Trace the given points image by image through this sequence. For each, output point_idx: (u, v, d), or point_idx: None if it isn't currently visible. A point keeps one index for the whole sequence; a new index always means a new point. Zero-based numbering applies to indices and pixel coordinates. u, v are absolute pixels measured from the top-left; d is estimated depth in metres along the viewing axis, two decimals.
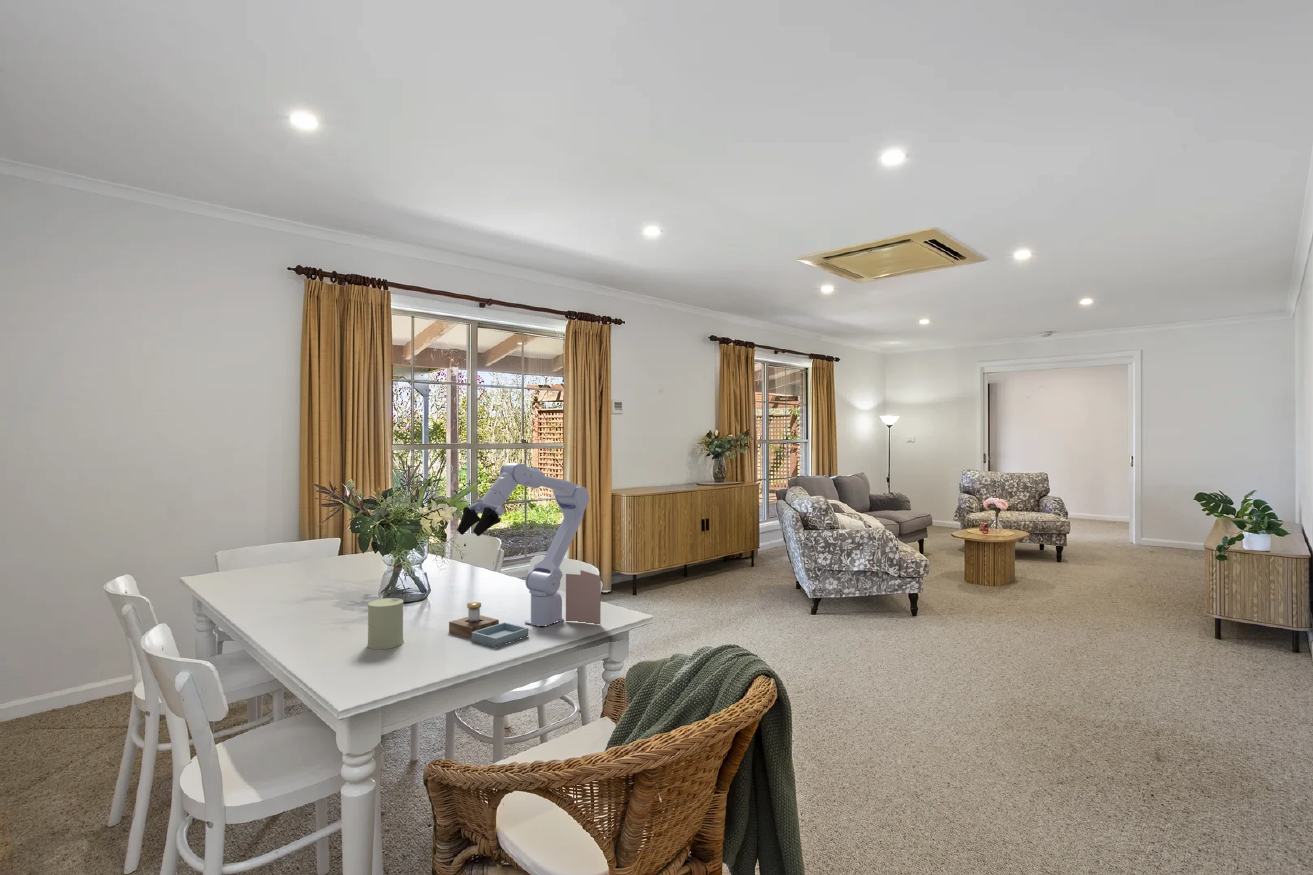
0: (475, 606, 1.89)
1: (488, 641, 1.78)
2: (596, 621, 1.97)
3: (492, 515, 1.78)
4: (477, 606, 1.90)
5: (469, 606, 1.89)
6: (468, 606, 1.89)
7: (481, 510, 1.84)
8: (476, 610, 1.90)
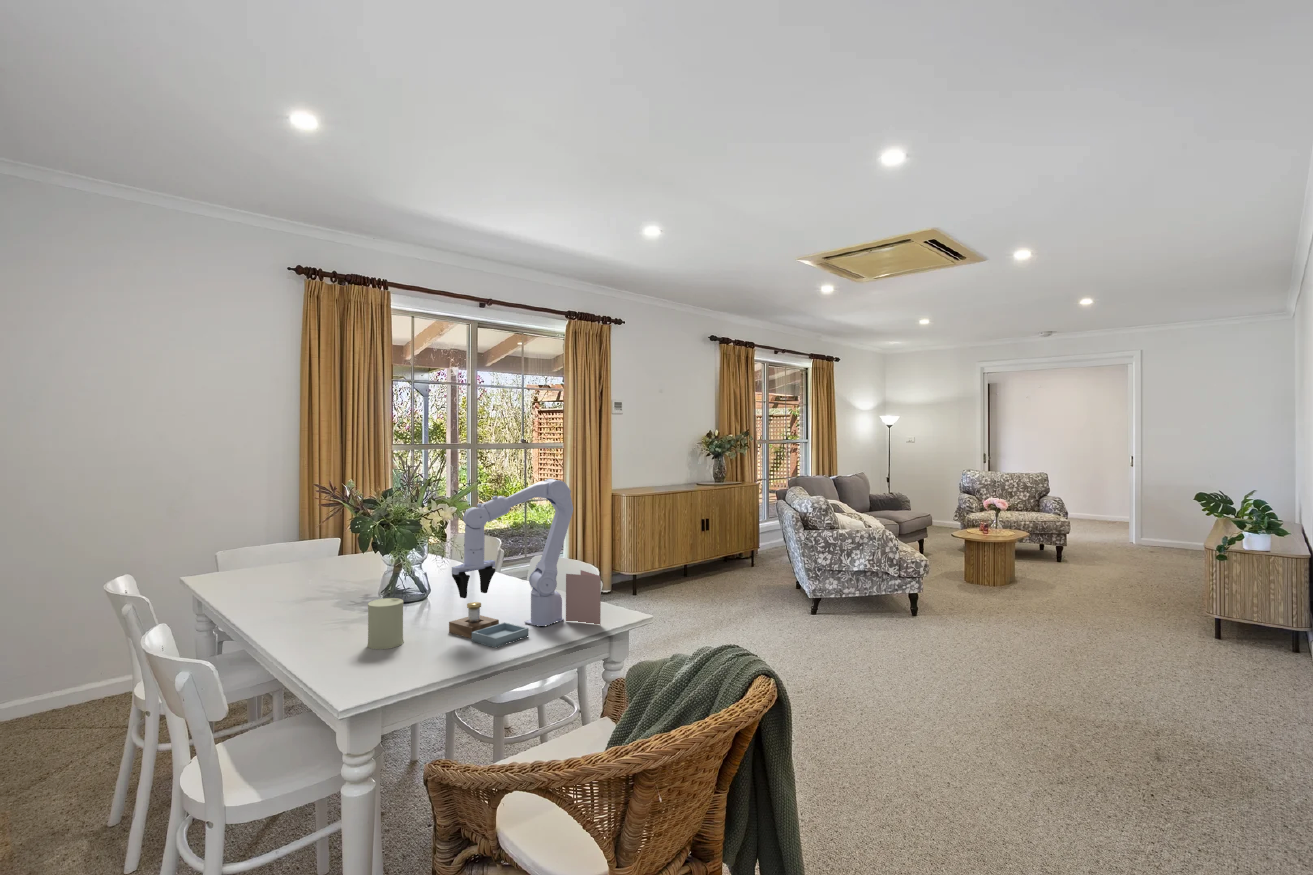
0: (475, 606, 1.89)
1: (488, 641, 1.78)
2: (596, 621, 1.97)
3: None
4: (477, 606, 1.90)
5: (469, 606, 1.89)
6: (468, 606, 1.89)
7: None
8: (476, 610, 1.90)
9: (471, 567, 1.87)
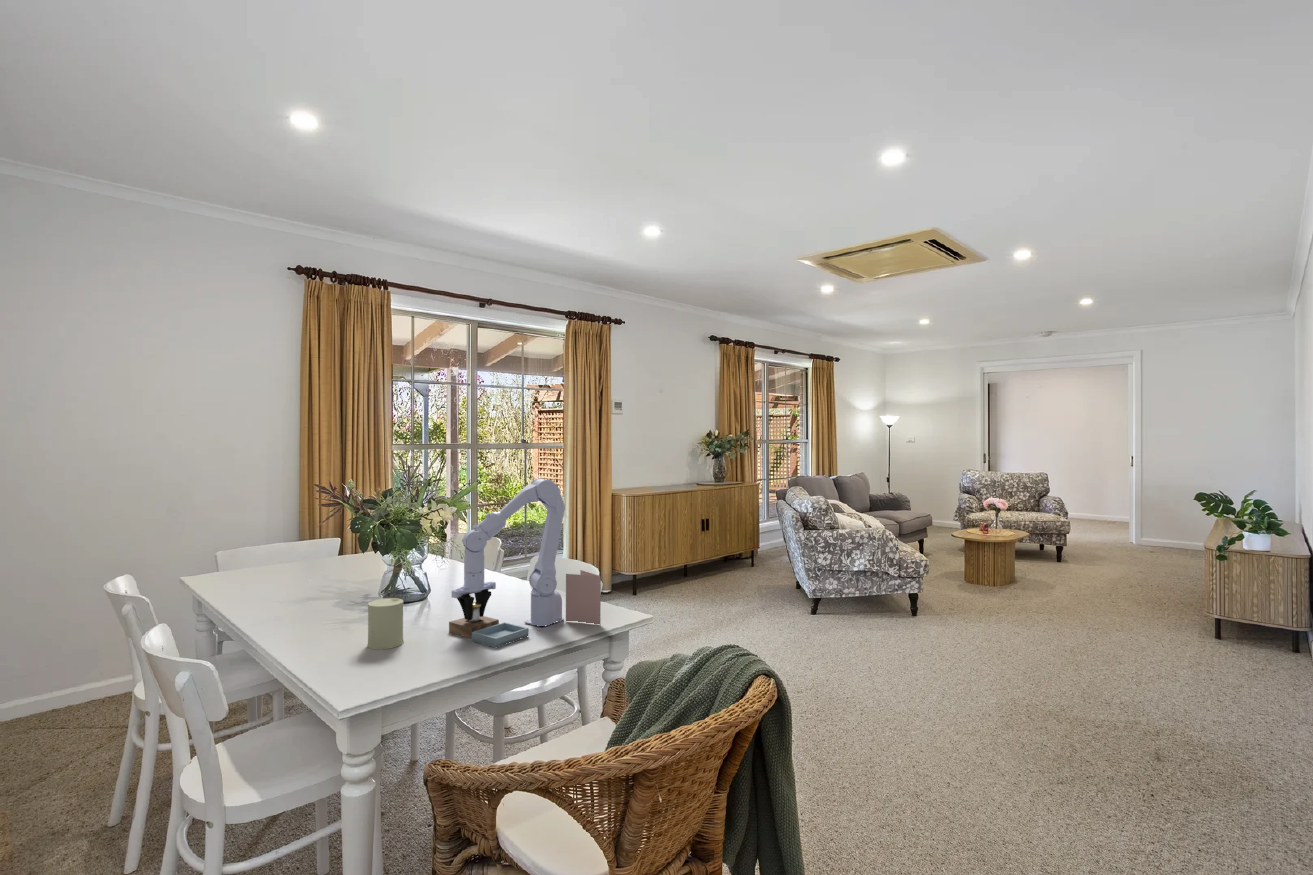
0: (475, 606, 1.89)
1: (488, 641, 1.78)
2: (596, 621, 1.97)
3: None
4: (477, 606, 1.90)
5: None
6: None
7: None
8: (476, 610, 1.90)
9: (471, 590, 1.87)
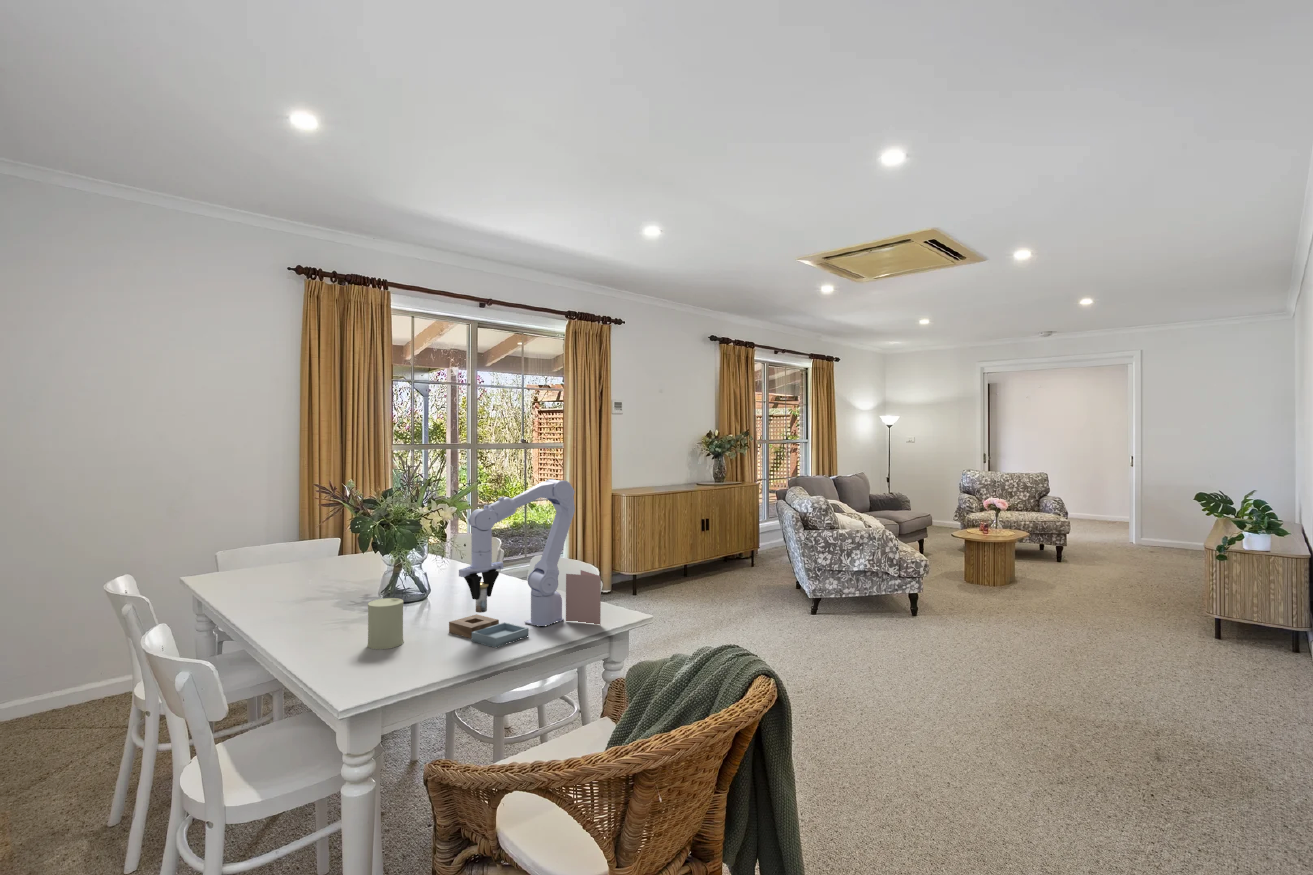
0: (482, 586, 1.87)
1: (488, 641, 1.78)
2: (596, 621, 1.97)
3: None
4: (484, 586, 1.87)
5: None
6: None
7: None
8: (483, 590, 1.88)
9: (478, 569, 1.85)
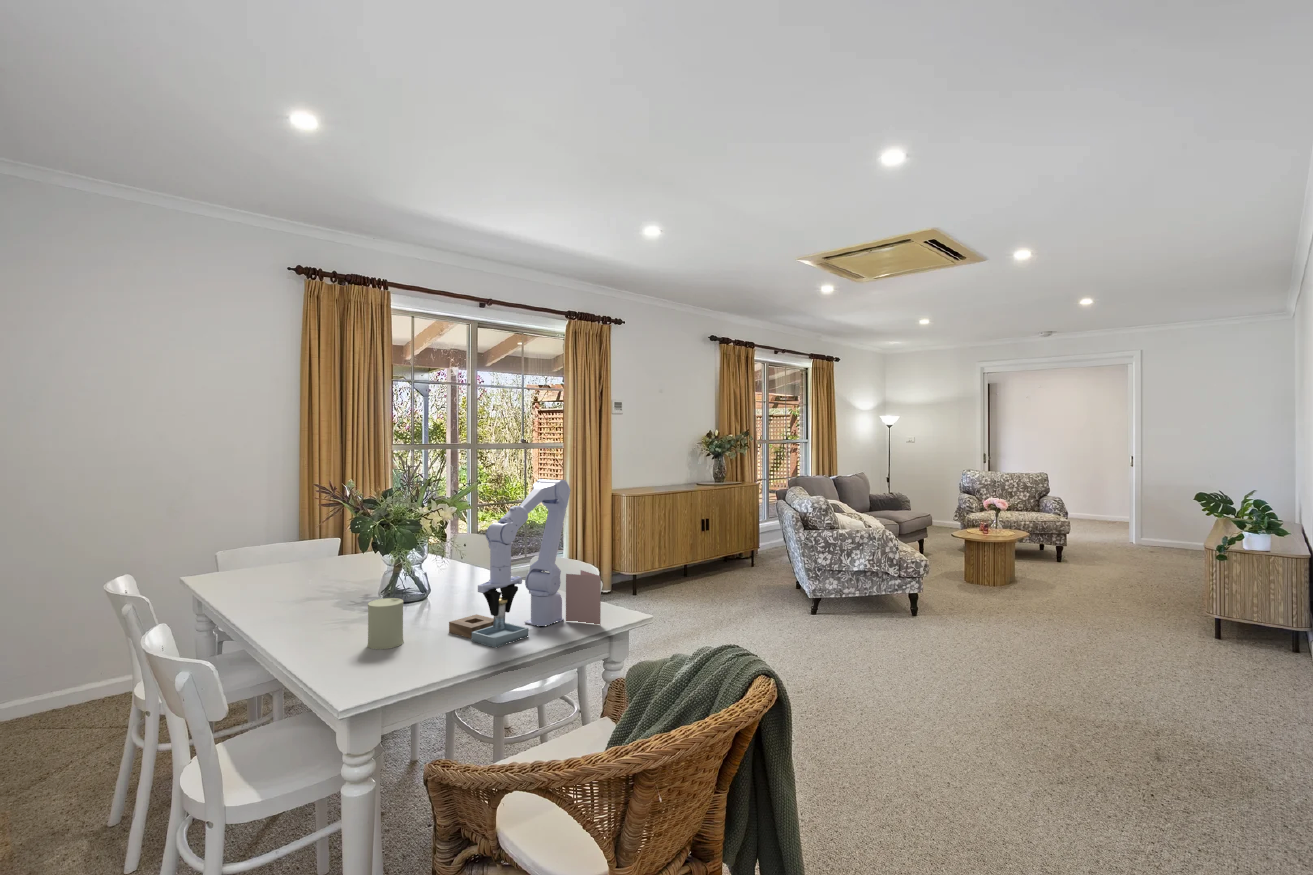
0: (501, 602, 1.82)
1: (488, 641, 1.78)
2: (596, 621, 1.97)
3: None
4: (503, 602, 1.82)
5: None
6: None
7: None
8: (502, 606, 1.82)
9: (498, 585, 1.80)
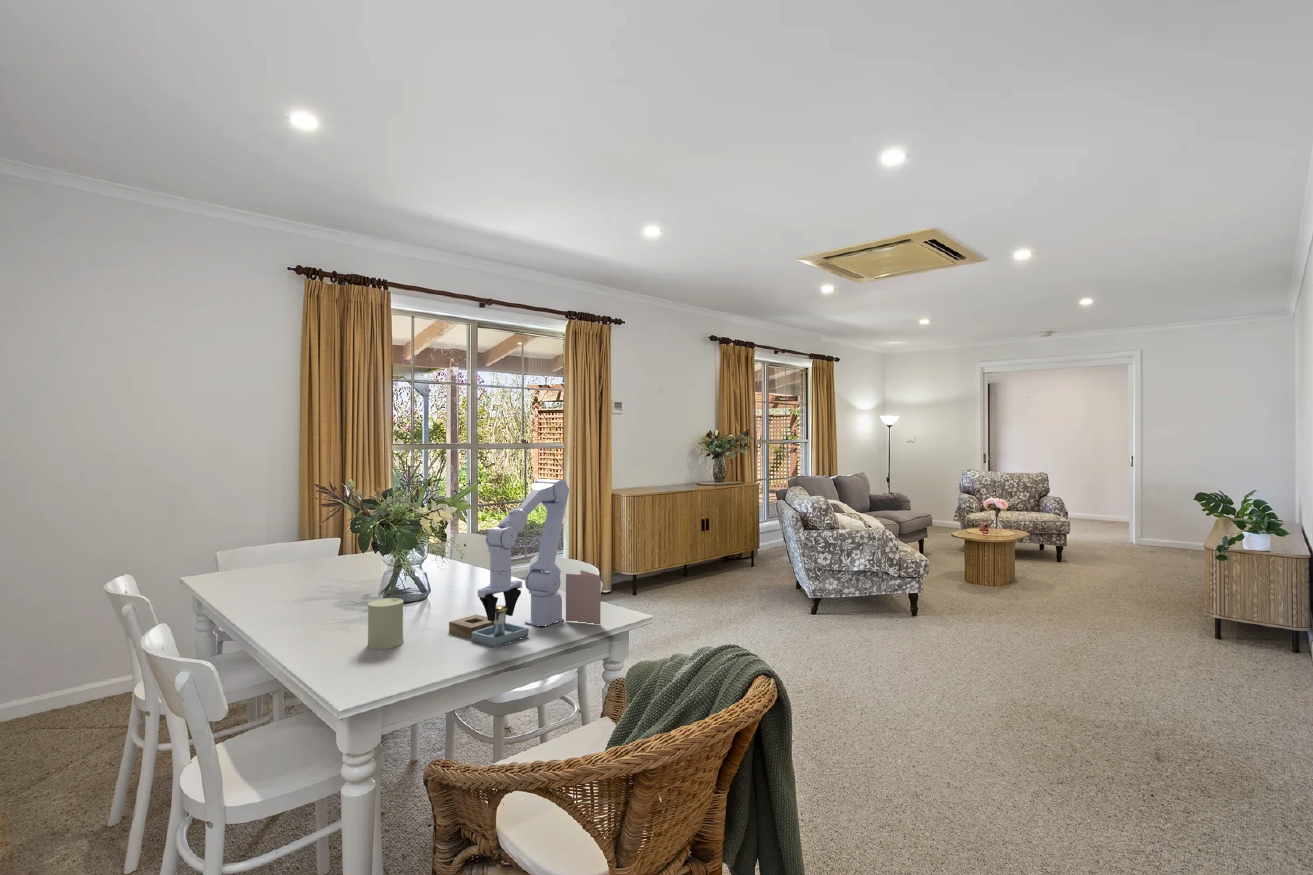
0: (501, 610, 1.82)
1: (488, 641, 1.78)
2: (596, 621, 1.97)
3: None
4: (503, 610, 1.82)
5: (495, 610, 1.82)
6: None
7: None
8: (502, 614, 1.83)
9: (498, 589, 1.80)
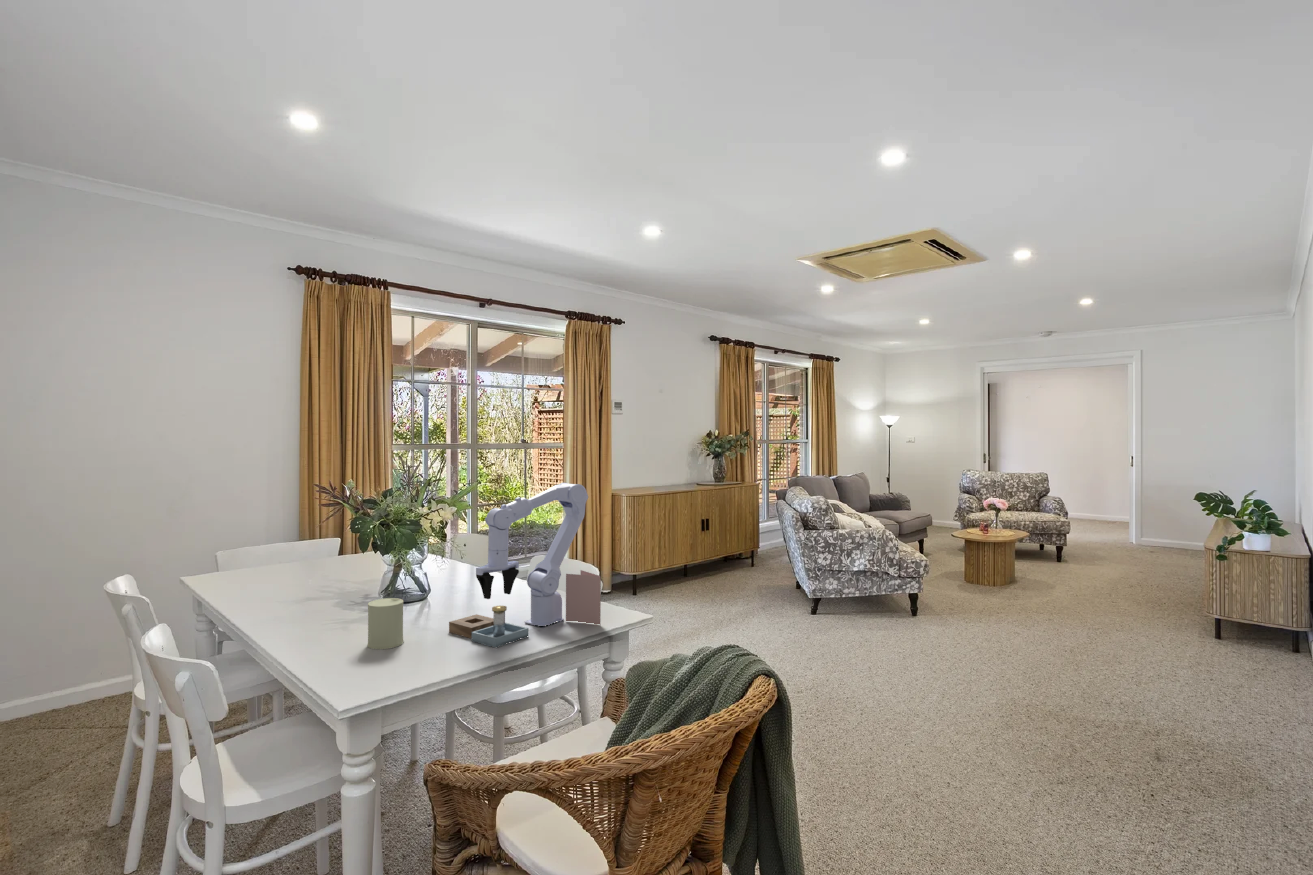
0: (500, 610, 1.82)
1: (488, 641, 1.78)
2: (596, 621, 1.97)
3: None
4: (503, 610, 1.83)
5: (494, 610, 1.82)
6: (493, 610, 1.82)
7: None
8: (501, 614, 1.83)
9: (495, 568, 1.87)
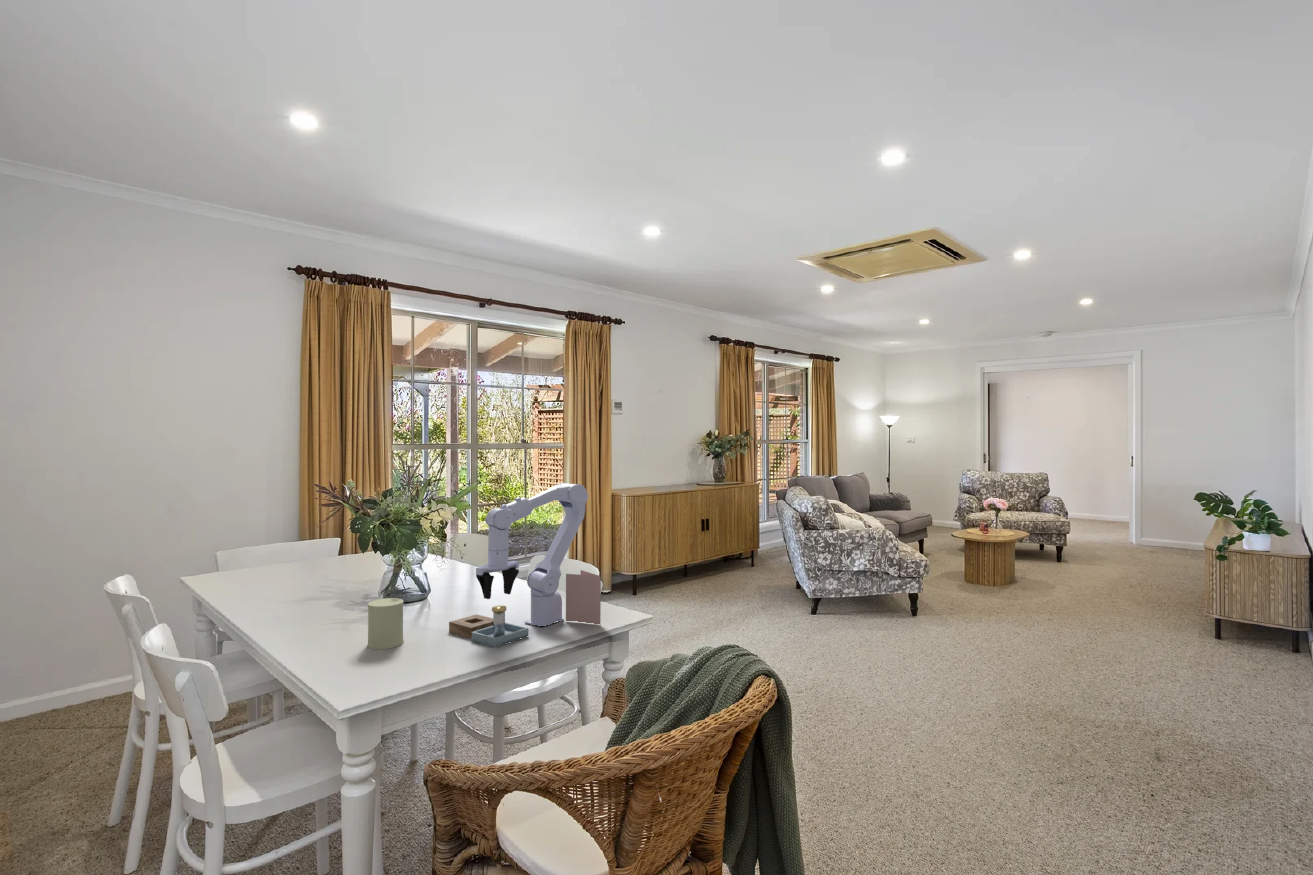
0: (500, 610, 1.82)
1: (488, 641, 1.78)
2: (596, 621, 1.97)
3: None
4: (502, 610, 1.82)
5: (494, 610, 1.82)
6: (493, 610, 1.82)
7: None
8: (501, 614, 1.83)
9: (495, 568, 1.87)
